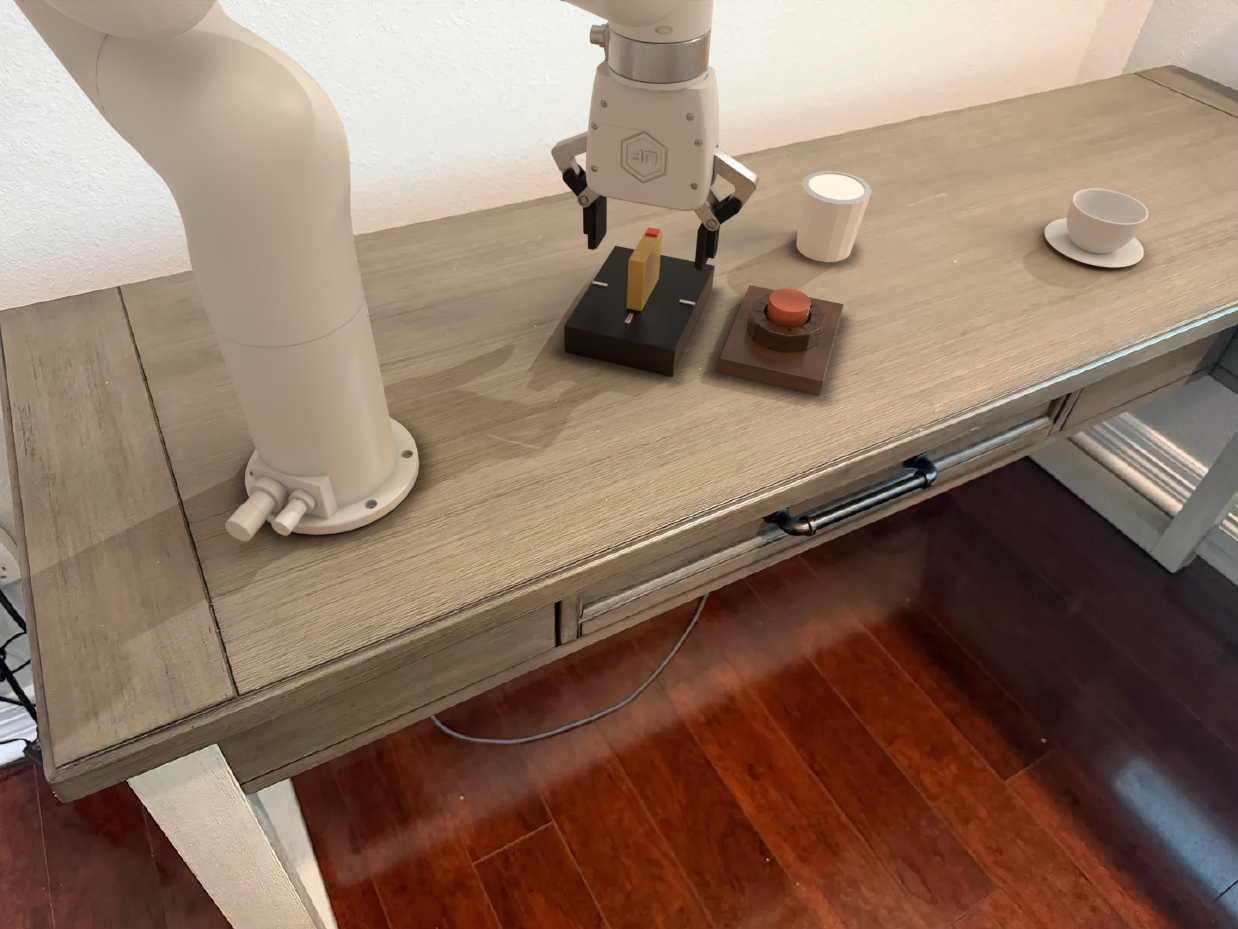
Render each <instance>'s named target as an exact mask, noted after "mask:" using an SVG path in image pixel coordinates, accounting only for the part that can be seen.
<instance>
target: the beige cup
mask: <svg viewBox="0 0 1238 929" xmlns="http://www.w3.org/2000/svg"><path fill="white" fill-rule="evenodd" d="M871 195H872V188H871V186H870V185H869V183H868V182H867V181H865V180H864V179H862V178H861V177H859V176H856V175H854V174H851V173H848V172H842V171H837V170H820V171H816V172H813V173H810V174H808V175H807V176H805V177H804V178H803V179H802V183H801V189H800V202H799V213H798V221H797V222H798V223H797V234H796V243H795V244H796V245H795V246H796V248H797V250H798V252H799V253H801V254H802V255H803V256H804V257H806V258H808V259H811V260H813V261H817V262H822V263H836V262H839V261H843V260H845V259H847V258H848V257H849V256H851V252H852V249H853V247H854V244H855V241H856V238H857V236H858V233H859V230H860V227H861V224H862V222H863V218H864V216H865V212H866V211H867V210H866V209H867V207H868V204H869V201H870V198H871Z"/></svg>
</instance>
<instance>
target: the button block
mask: <svg viewBox="0 0 1238 929" xmlns="http://www.w3.org/2000/svg"><path fill="white" fill-rule="evenodd" d="M776 290H777V289H772V288H767V287H761V286H756V285H752V284H749V285H748V287H747V289H746V292H745V294H744V297H743V298H742V301H741V304H740V307H739V310H738V311H737V314H736V316H735V319H734V322H733V324H732V326H731V329H730V332H729V334H728V337H727V339H726V342H725V343H724V347H723V349H722V351H721V354H720V356H719V359H718V366H717V373H718V374H723V375H727V376H731V377H736V378H740V379H745V380H749V381H753V382H758V383H762V384H765V385H771V386H775V387H779V388H784V389H789V390H794V391H798V392H801V393H805V394H811V395H815V396H821V394H822V390H823V388H824V387H823V386H824V382H825V379H826V375H827V371H828V367H829V364H830V360H831V356H832V352H833V348H834V344H835V341H836V337H837V333H838V329H839V326H840V322H841V318H842V314H843V310H844V303H839V302H835V301H830V300H825V299H820V298H815V297H811V296H808V297H809V298H810V301H811V305H810V310H809V314H808V319H807V321H806V323H805V324H804V325H802V326H800V327H793V328H787V327H783V326H778V325H776V324H774V323H772V322H771V321H770V320H769V319H768V317H767V308H768V302H769V297H770V295H771V294H772V293H773V292H774V291H776Z"/></svg>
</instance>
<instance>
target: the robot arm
mask: <svg viewBox="0 0 1238 929" xmlns="http://www.w3.org/2000/svg"><path fill="white" fill-rule="evenodd" d="M560 1H561V2H565V3H568V4H569V5H572V6H574V7H577V8H578V9H581V10H584V11H585V12H588V13H590V14H593V15H595V16H597V17H599V18H601V19H603V20H605V21H607V23H602V24H600V25H598V24H592V25H591V27H590V31H589V42H590V44H591V45H596V46H598V47H599V48H603V52H604V60H603V61H602V62H600V63H599V64H598V65H597V66H596V71H595V74H594V79H593V85H592V91H591V98H590V105H589V106H590V107H589V116H588V125H587V131H584V132H580V133H579V134H576V135H573V136H570V137H568V138H565V139H562V140H560V141H557V142H556V144H555V145H554V146H553V147H552V148H551V151H550V153H551V157H552V158H553V161H554V162H555V164H556V166H557V168H558V171H560V172H561V174H562V177H561V178H562V181H563V182H564V184H565V185H566V186H567V187H568V188H569V190H571V191H572V193H573V194H574V195H575V197H576V202H577V204H578V205H579V206H580V207H582V232H583V235H586V236H587V249H588V250H591V251H595V250H597V249H598V247H600V245H601V243H602V241H603V240H604V239H605V237H606V235H607V233H608V232H607V231H608V230H607V229H608V199H613V200H618V201H624V202H627V203H628V202H629V203H634V204H639V205H645V206H651V207H656V208H662V209H669V210H673V211H681V212H694V213H695V215H696V216H697V217H698V219H699V220H700V221H701V222H700V225H699V226H698V229H697V232H696V242H695V243H696V244H695V253H694V254H695V256H694V262H695V265H694V268H696V270H698V271H703V269H704V267H705V265H706V264H708V263H707V262H708V261H709V259H713V260H714V259H715V257H716V256H717V253H718V247H719V241H720V240H719V239H720V230H721V225H722V224H724V223H725V222H727V221H729V220H730V219H731V218H733V217H735V216H736V215H737V214H739V213H740V212H741V209H742V208H743V207H744V205H746V203H747V202H748V201H749V199H750V198H751V197H752V195H753V194H754V193H755V192H756V189H757V187H758V185H759V183H760V178H759V176H758V175H757V174H756V173H754V172H753V171H751V170H750V169H749V168H748V167H746V166H745V165H743V164H742V163H740V162H739V161H737V160H736V159H735V158H733V157H732V156H730V155H729V154H728V153H726V152H725V151H723V150H722V149H721V148H720V106H719V105H720V104H719V103H720V102H719V89H718V81H717V74H716V70H715V68H713V67H712V66H710V65H709V62H710V60H709V59H710V50H711V49H710V48H711V39H712V38H711V37H712V25H713V14H714V1H715V0H560ZM13 2H14V3H15V5H16V6H17V7H18V9H19V10H20V11H21V12H22V14H23V15H24V16H25V18H26V19H27V20H28V21H29V23H30V24H31V26H32V27H33V28H34V30H35V31H36V32H37V33H38V35H39V37H40V38H41V39H42V40H43V42H45V44H46V45H47V47H48V48H49V50H50V51H51V52H52V53H53V55H54V56H55V57H56V58H57V60H58V61H59V62H60V64H61V65H62V67H64V69H65V71H67V73H68V75H69V76H70V77H71V78H72V79H73V80H74V82H75V83H76V84H77V85H78V87H79V89H80V90H81V91H82V92H83V93H84V94H85V96H86V97H87V99H88V100H89V101H90V102H91V104H92V105H93V106H94V108H95V109H96V110H97V111H98V112H99V114H100V115H101V116H102V117H103V118H104V120H105V121H106V122H107V123H108V124H109V125H110V127H111V128H113V130H114V131H115V132H116V133H117V134H118V135H119V136H120V137H121V138H122V139H123V140H124V141H125V142H127V143H128V144H129V145H130V146H131V147H132V148H133V149H134V151H136V152H137V153H138V154H139V155H140V157H141V158H142V159H143V160H144V161H145V163H146V164H147V165H148V166H149V167H150V168H151V169H153V170H154V172H156V174H157V175H158V176H159V177H160V178H161V179H162V180H163V182H164V183H165V186H167V188H168V190H169V191H170V194H171V195H172V197H173V200H174V202H175V204H176V206H177V209H178V212H179V215H180V218H181V221H182V225H183V228H184V233H185V238H186V245H187V252H188V258H189V262H190V266H191V270H192V274H193V278H194V281H195V283H196V287H197V290H198V293H199V296H200V298H201V302H202V304H203V307H204V310H205V313H206V315H207V319H208V321H209V324H210V325H211V327H212V330H213V333H214V335H215V338H216V341H217V344H218V347H219V350H220V352H221V356H222V358H223V360H224V363H225V366H226V370H227V373H228V375H229V377H230V380H231V383H232V386H233V389H234V392H235V394H236V397H237V399H238V402H239V406H240V408H241V411H242V414H243V416H244V420H245V422H246V425H247V428H248V430H249V433H250V435H251V439H252V442H253V444H254V448H255V450H254V451H253V453H252V455H251V456H250V458H249V459H248V463H247V466H246V468H245V471H244V472H245V473H244V485H245V490H246V494H247V496H248V498H247V500H246V501H245V502H244V503H242V504H240V505H239V506H238V508H237V509H236V510H235V511H234V512H233V513H232V515H231V516H230V517H229V518H228V519H227V521H226V522H225V524H224V527H225V530H226V531H227V532H228V533H229V535H231V536H232V537H234V538H235V539H236V540H238V541H241V542H249V541H250V540H251V539H252V538H253V537H254V536H255V534H256V533H257V532H258V531H259V529H261V527H262V526H263V525H264V524H265V522H266V521H267V522H268V523H270V524H271V528H272V529H273V530H274V531H275V532H276V533H277V534H279V535H281V536H285V537H288V536H289V535H291V533H292V532H293V533H296V534H303V535H304V534H305V535H316V536H317V535H330V534H331V535H332V534H337V533H338V534H339V533H343V532H349V531H352V530H355V529H359V528H361V527H364V526H366V525H369V524H371V523H373V522H375V521H377V520H379V519H381V518H382V517H384V516H385V515H387V514H388V513H390V512H391V511H393V510H394V509H395V508H397V506H398V505H399V504H400V503H402V501H404V500H405V498H407V496H408V495H409V493H410V492H411V490H412V489H413V488H414V485H415V483H416V480H417V478H418V476H419V469H420V459H419V451H418V448H417V445H416V441H415V439H414V437H413V436H412V434H411V433H410V431H409V430H408V429H407V428H406V427H405V426H404V425H402V423H400V422H399V421H397V420H396V419H393V418H392V417H391V416H390V413H389V408H388V402H387V398H386V393H385V389H384V383H383V378H382V374H381V368H380V363H379V358H378V354H377V348H376V343H375V340H374V335H373V334H374V333H373V329H372V325H371V320H370V315H369V308H368V304H367V299H366V294H365V290H364V287H363V282H362V278H361V273H360V267H359V262H358V257H357V251H356V246H355V245H356V244H355V239H354V232H353V222H352V208H351V207H352V206H351V157H350V155H351V154H350V148H349V143H348V142H349V141H348V138H347V135H346V131H345V127H344V123H343V122H342V119H341V117H340V114H339V113H338V111H337V109H336V107H335V105H334V103H333V101H332V100H331V98H330V97H329V96H328V94H327V92H326V91H325V90H324V88H323V87H322V86H321V85H320V83H319V82H318V81H317V80H316V79H315V77H314V76H312V74H310V72H308V71H307V69H305V68H304V67H303V66H302V65H301V64H300V63H299V62H297V61H296V60H294V59H293V57H291V56H290V55H288V54H287V53H285V51H282V50H281V49H280V48H278V47H276V46H275V45H273V43H270V42H269V41H267V40H266V39H265V38H263V37H262V36H260V35H258V34H257V33H256V32H254V31H252V30H251V29H249V28H247V27H245V26H242V25H241V24H240V23H238V22H237V21H235V20H234V19H232V18H230V17H229V16H228V14H227V13H226V12H225V10H224V8H223V6H221V4H220V2H219V0H13ZM582 154H585V170H584V168H583V167H582V166H581V165H580V164H579V163H578V162H577V158H576V157H577V156H579V155H582ZM717 176H720V177H721V178H722V179H724V180H726V181H727V183H729V184H731V185H732V186H733V187H734V190H733V192H732V193H730V194H729V195H727V196H726V197H724V198H723V199H722V198H721V196H720V195H719V193H718V191H717V190H716V189H715V187H714V184H715V182H716V181H717V180H716V179H717Z"/></svg>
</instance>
